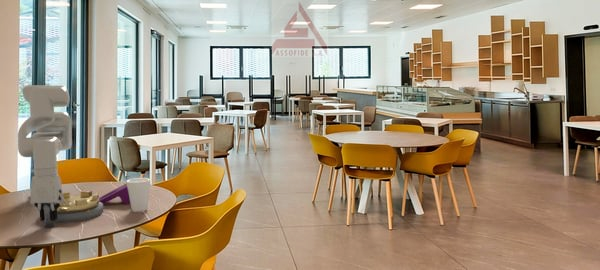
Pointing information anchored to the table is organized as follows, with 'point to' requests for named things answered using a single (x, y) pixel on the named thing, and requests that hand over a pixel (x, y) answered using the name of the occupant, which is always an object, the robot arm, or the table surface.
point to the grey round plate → (79, 215)
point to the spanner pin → (47, 215)
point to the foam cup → (138, 193)
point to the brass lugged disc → (78, 202)
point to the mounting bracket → (117, 195)
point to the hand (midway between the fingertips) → (48, 219)
